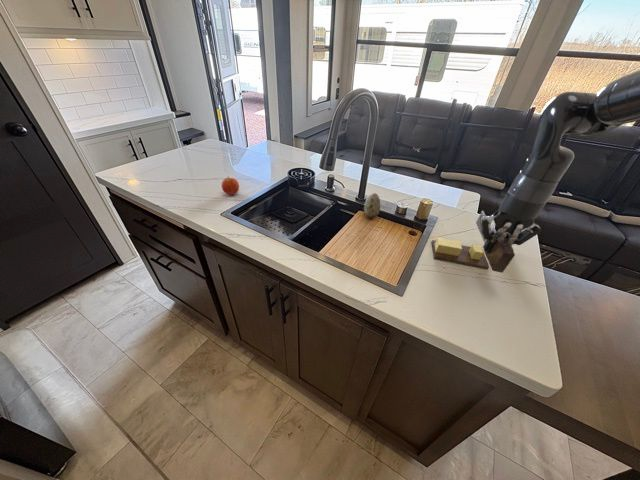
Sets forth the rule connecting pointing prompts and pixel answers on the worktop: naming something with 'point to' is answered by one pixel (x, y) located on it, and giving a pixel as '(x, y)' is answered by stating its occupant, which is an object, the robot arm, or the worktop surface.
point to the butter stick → (448, 246)
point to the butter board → (461, 257)
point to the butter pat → (476, 251)
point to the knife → (498, 251)
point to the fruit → (230, 186)
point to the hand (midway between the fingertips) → (492, 252)
